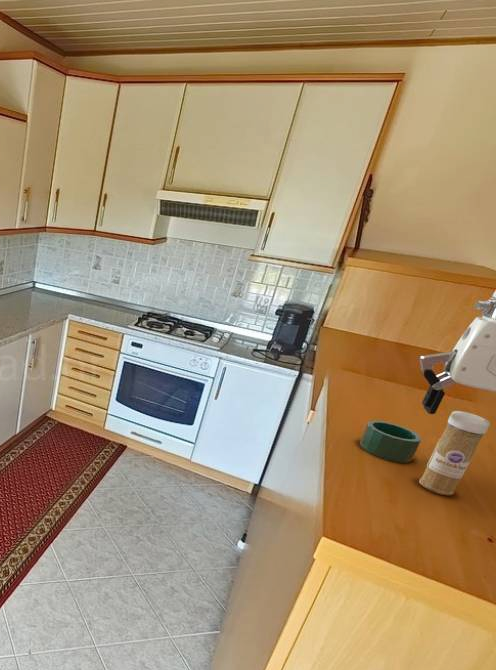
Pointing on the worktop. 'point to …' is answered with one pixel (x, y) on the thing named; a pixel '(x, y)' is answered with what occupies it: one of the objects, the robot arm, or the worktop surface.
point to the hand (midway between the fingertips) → (466, 420)
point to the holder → (390, 441)
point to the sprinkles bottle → (454, 452)
